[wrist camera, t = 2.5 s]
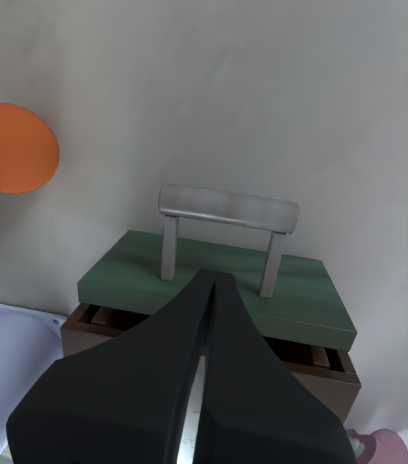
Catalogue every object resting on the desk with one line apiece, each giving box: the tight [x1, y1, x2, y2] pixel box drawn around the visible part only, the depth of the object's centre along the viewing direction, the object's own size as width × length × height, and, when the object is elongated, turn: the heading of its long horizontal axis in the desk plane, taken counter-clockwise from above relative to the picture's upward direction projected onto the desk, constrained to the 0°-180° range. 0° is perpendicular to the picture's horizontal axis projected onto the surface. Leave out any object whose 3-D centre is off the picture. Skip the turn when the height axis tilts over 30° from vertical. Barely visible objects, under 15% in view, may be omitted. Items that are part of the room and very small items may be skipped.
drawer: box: [77, 184, 357, 370], centre depth 18 cm, size 17×13×7 cm
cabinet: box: [60, 303, 361, 464], centre depth 20 cm, size 13×14×8 cm
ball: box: [0, 103, 59, 193], centre depth 17 cm, size 5×5×5 cm
